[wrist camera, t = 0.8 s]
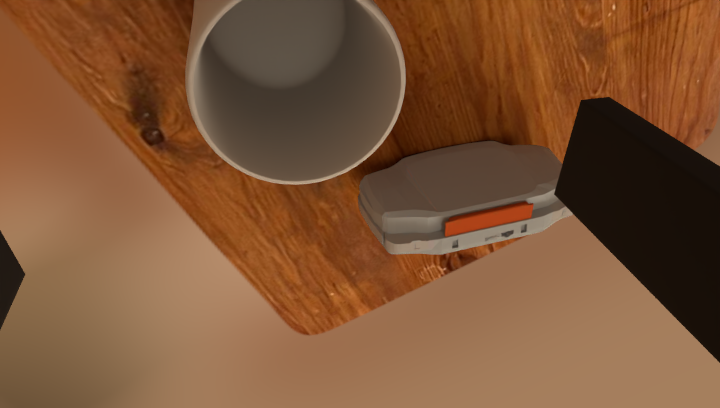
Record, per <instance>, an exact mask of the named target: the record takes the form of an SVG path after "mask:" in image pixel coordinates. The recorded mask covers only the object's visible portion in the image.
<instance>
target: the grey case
mask: <svg viewBox="0 0 720 408" xmlns="http://www.w3.org/2000/svg"><path fill="white" fill-rule="evenodd" d="M561 168H562V163H561V162H560V161H559V160H558V159H557V157H556V156H555V155H554V154H553V153H552V151H551V150H550V149H549V148H546V147H543V146H537V145H506V144H501V143H499V142H496V141H483V142H475V143H468V144H462V145H456V146H451V147H446V148H441V149H436V150H432V151H428V152H424V153H420V154H416V155H412V156H409V157H406V158H403V159H402V160H400V161H399V162H398V163H396V164H395V165H393V166H392V167H390V168H388V169H384V170H380V171H377V172H374V173H371V174H369V175H365V176H364V178H363V179H362V181H361V182H360V186H359V188H360V193H359V196H358V204H359V209H360V212H361V214H362V216H363V217H364V219H365V221H366V222H367V224H368V226H369V227H370V229H371V231H372V232H373V233H374V235H375V236H376V237H377V239H378V240H379V241H380V243H381V244H382V245H383V246H384V248H385V249H386V250H387V252H389V253H391V254H415V253H421V254H445V253H450V252H454V251H459V250H463V249H468V248H472V247H477V246H481V245H485V244H490V243H494V242H499V241H503V240H508V239H512V238H516V237H521V236H525V235H530V234H534V233H538V232H541V231H544V230H545V229H547V228H548V227H549V226H551V225H552V224H553V223H555V222H556V221H558V220H560V219H562V218H566V217H568V216H571V215H573V213H572V212H571V211H570V210H569V209H568V208H567V207H566V206H565V205H564V204H563V203H562V202H561V201H560V200H559V199H558V198H557V197H556V196H555V195H554V192H555V189H556V185H557V182H558V178H559V175H560V171H561Z"/></svg>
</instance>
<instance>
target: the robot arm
mask: <svg viewBox="0 0 720 408" xmlns="http://www.w3.org/2000/svg"><path fill="white" fill-rule="evenodd" d="M554 195H555V196H556V197H557V198H558V199H559V200H560V201H561V202H562V203H563V204H564V205H565V206H566V207H567V208H568V209H569V210H570V211H571V212H572V213H573V214H574V215H575V216H576V217H577V218H578V219H579V220H580V221H581V222H582V223H583V224H584V225H585V226H586V227H587V228H588V229H589V230H590V231H591V232H592V233H593V234H594V235H595V236H596V237H597V238H598V239H599V240H600V242H601V243H603V245H604V246H605V247H606V248H607V249H608V250H610V252H611V253H612V254H613V255H614V256H615V257H616V258H617V259H618V260H619V261H620V262H621V263H622V264H623V265H624V266H625V267H626V268H627V269H628V270H629V271H630V272H631V273H632V274H633V275H634V276H635V277H636V278H637V279H638V280H639V281H640V282H641V283H642V284H643V285H644V286H645V287H646V288H647V289H648V290H649V291H650V292H651V293H652V294H653V295H654V296H655V297H656V298H657V299H658V300H659V301H660V302H661V304H663V305H664V307H665V308H666V309H667V310H668V311H669V312H670V313H671V314H672V315H673V316H674V317H675V318H676V319H677V320H678V321H679V322H680V323H681V324H682V325H683V326H684V327H685V328H686V329H687V330H688V331H689V332H690V333H691V334H692V335H693V336H694V337H695V338H696V339H697V340H698V341H699V342H700V343H701V344H702V345H703V346H704V347H705V348H706V349H707V350H708V351H709V352H710V353H711V354H712V355H713V356H714V357H715V358H716V359H717V360H718V361H719V362H720V166H718V165H717V164H715V163H713V162H712V161H710V160H708V159H707V158H705V157H704V156H702V155H701V154H699V153H697V152H696V151H694V150H693V149H691V148H690V147H688V146H686V145H685V144H683V143H682V142H680V141H678V140H677V139H675V138H674V137H672V136H670V135H669V134H667V133H666V132H664V131H662V130H661V129H659V128H658V127H656V126H654V125H653V124H651V123H650V122H648V121H646V120H645V119H643V118H642V117H640V116H638V115H637V114H635V113H634V112H632V111H630V110H629V109H627V108H626V107H624V106H622V105H621V104H619V103H618V102H616V101H615V100H613V99H611V98H610V97H605V98H596V99H587V100H581V102H580V106H579V109H578V112H577V116H576V119H575V123H574V126H573V130H572V133H571V137H570V140H569V144H568V147H567V151H566V154H565V158H564V161H563V164H562V168H561V171H560V175H559V178H558V182H557V185H556V189H555V192H554ZM24 276H25V273H24V272H23V269H22V268H21V266H20V264H19V263H18V261H17V259H16V257H15V256H14V254H13V252H12V250H11V248H10V247H9V245H8V243H7V241H6V240H5V238H4V236H3V235H2V233H1V231H0V329H1V327H2V325H3V323H4V320H5V318H6V316H7V313H8V311H9V309H10V307H11V305H12V302H13V300H14V298H15V296H16V294H17V291H18V289H19V287H20V285H21V282H22V280H23V278H24Z"/></svg>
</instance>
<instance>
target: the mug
mask: <svg viewBox="0 0 720 408" xmlns="http://www.w3.org/2000/svg"><path fill="white" fill-rule="evenodd" d="M185 75H186V93H187V99H188V104H189V108H190V111H191V114H192V117H193V119H194V121H195V124H196V126H197V128H198V130H199V131H200V133H201V134H202V136H203V137H204V139H205V141H206V142H207V143H208V144H209V145H210V147H211V148H212V149H213V150H214V151H215V152H216V153H217V154H218V155H219V156H220V157H221V158H222V159H223V160H224V161H226V162H227V163H229V164H230V165H232V166H233V167H234V168H236V169H238V170H240V171H242V172H243V173H245V174H247V175H250V176H252V177H255V178H258V179H261V180H264V181H268V182H273V183H280V184H309V183H314V182H320V181H324V180H327V179H330V178H333V177H336V176H338V175H340V174H343V173H345V172H347V171H349V170H350V169H352V168H354V167H356V166H357V165H359V164H360V163H361V162H363V161H364V160H366V159H367V158H368V157H369V156H370V155H371V154H372V153H373V152H375V150H376V149H377V148H378V147H379V146H380V145H381V144H382V143H383V141H384V140H385V139H386V137H387V136H388V134H389V133H390V131H391V129H392V128H393V126H394V124H395V122H396V120H397V118H398V115H399V112H400V110H401V106H402V103H403V99H404V93H405V85H406V68H405V61H404V55H403V52H402V48H401V45H400V42H399V40H398V37H397V35H396V33H395V30H394V28H393V27H392V25H391V23H390V22H389V20H388V19H387V17H386V15H385V14H384V13H383V12H382V11H381V9H380V8H379V7H378V6H377V5H376V3H375V2H374V1H373V0H194V11H193V20H192V27H191V34H190V41H189V47H188V55H187V62H186V70H185Z"/></svg>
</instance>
